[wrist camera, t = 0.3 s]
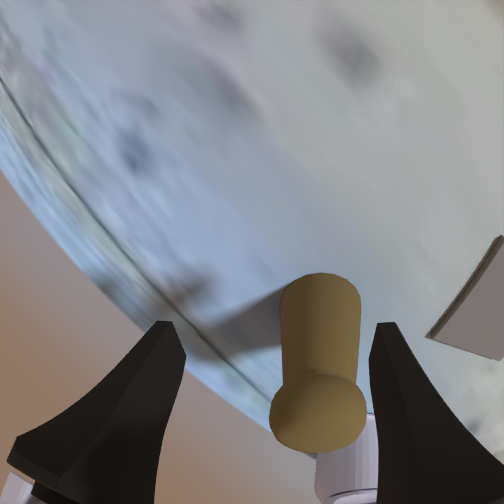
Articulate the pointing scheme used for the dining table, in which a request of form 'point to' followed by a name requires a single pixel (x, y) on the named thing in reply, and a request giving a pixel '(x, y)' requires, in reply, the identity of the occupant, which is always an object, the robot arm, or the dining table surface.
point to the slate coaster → (479, 311)
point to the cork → (319, 366)
